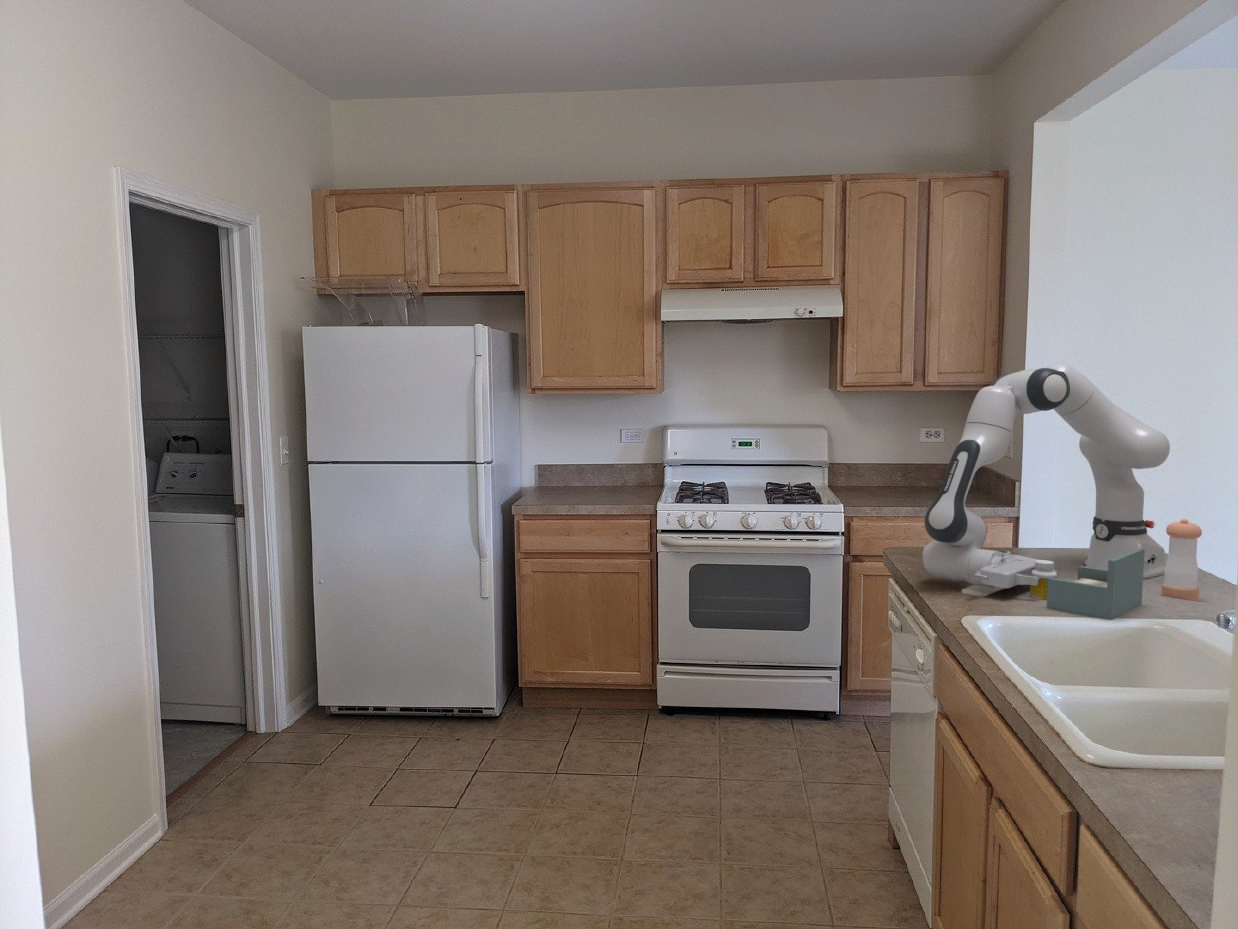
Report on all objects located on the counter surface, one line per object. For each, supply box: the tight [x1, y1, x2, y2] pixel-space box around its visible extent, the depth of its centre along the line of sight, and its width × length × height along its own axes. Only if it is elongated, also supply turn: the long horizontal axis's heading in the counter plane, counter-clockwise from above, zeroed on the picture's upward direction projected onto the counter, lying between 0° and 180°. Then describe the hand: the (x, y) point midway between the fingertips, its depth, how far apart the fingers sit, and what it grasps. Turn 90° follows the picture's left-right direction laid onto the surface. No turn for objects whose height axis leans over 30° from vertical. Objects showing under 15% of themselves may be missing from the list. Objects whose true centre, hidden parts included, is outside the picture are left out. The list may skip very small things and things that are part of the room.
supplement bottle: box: [1029, 559, 1058, 601], centre depth 204 cm, size 5×5×10 cm
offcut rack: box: [1046, 548, 1145, 621], centre depth 196 cm, size 13×18×14 cm
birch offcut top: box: [1073, 578, 1107, 587], centre depth 196 cm, size 9×11×2 cm
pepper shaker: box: [1161, 518, 1203, 603], centre depth 205 cm, size 7×7×19 cm
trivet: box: [961, 584, 1006, 598], centre depth 213 cm, size 10×10×1 cm
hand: (1047, 578), depth 203 cm, fingers open, 8 cm apart
